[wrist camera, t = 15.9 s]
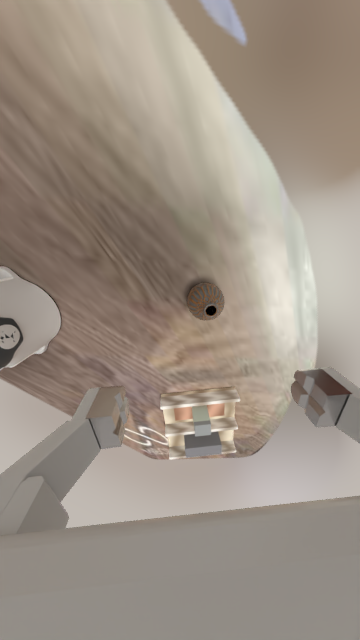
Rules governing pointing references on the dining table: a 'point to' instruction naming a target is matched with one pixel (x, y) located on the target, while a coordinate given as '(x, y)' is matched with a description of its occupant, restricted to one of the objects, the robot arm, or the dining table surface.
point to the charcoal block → (202, 445)
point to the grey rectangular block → (201, 420)
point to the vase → (205, 301)
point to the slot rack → (181, 418)
